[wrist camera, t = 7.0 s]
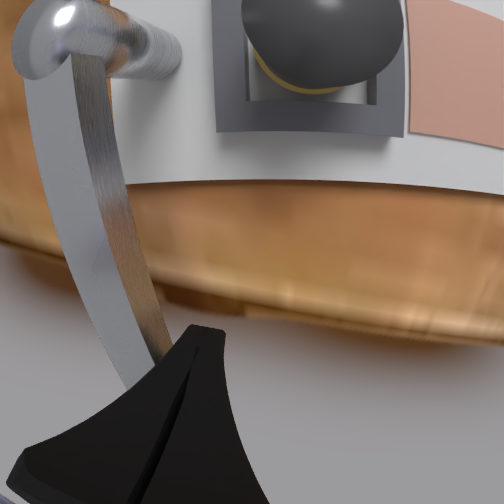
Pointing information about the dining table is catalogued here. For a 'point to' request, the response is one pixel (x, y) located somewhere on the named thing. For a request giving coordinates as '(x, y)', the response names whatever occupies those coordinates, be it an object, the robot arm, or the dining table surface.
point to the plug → (323, 40)
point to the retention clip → (94, 161)
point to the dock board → (278, 115)
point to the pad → (455, 71)
